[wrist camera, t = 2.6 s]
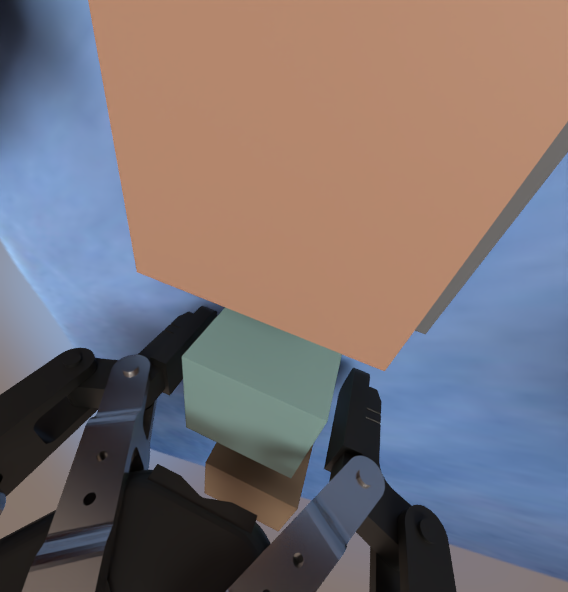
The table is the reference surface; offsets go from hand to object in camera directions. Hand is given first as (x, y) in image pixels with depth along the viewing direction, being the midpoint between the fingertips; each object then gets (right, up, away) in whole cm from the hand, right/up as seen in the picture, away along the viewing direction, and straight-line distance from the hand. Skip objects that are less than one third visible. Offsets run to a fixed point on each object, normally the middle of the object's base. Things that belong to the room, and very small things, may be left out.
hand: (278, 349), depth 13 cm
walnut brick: (0, -6, +6) cm, 8 cm away
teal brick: (0, +1, +1) cm, 1 cm away
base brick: (+2, +7, -6) cm, 9 cm away
